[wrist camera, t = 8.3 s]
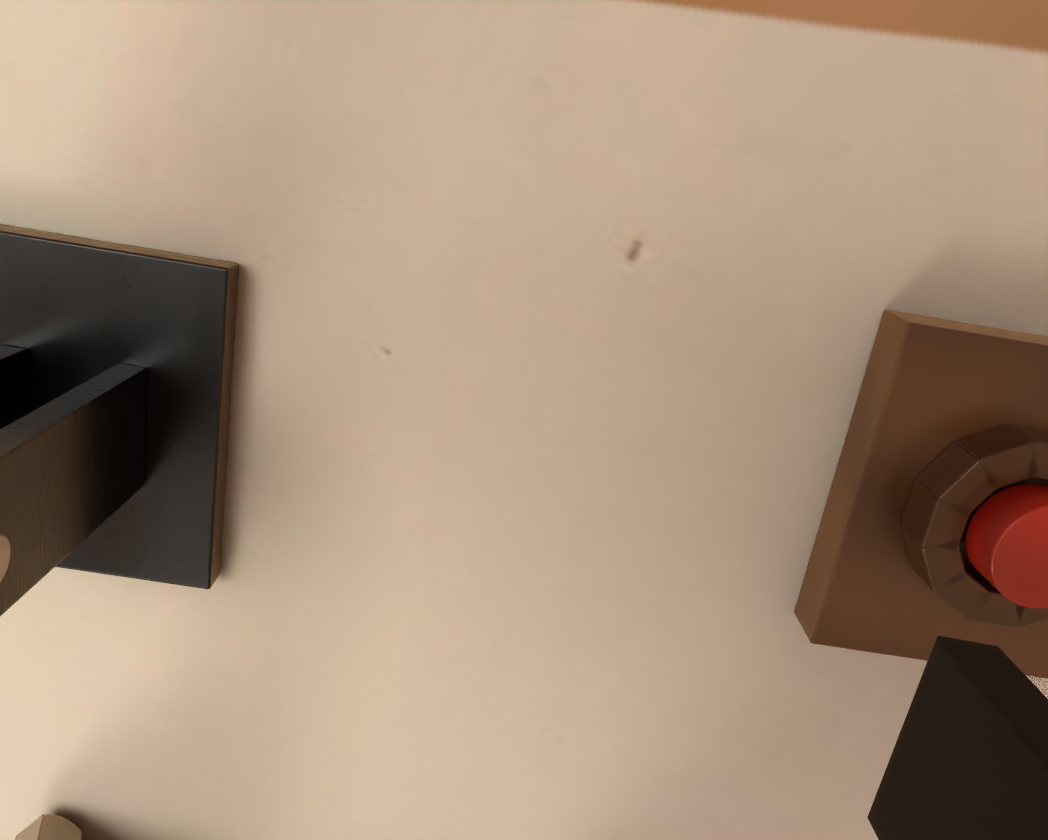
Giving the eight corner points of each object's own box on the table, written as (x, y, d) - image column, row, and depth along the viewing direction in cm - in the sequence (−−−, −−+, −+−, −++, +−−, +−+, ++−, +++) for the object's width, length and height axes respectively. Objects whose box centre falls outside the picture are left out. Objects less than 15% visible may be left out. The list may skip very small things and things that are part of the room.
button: (985, 474, 28) (1014, 496, 26) (1092, 491, 28) (1128, 514, 26) (950, 573, 29) (975, 600, 27) (1053, 589, 29) (1085, 617, 27)
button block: (883, 309, 30) (935, 334, 26) (1160, 355, 30) (1251, 387, 26) (793, 612, 33) (826, 673, 30) (1041, 649, 34) (1105, 714, 30)
